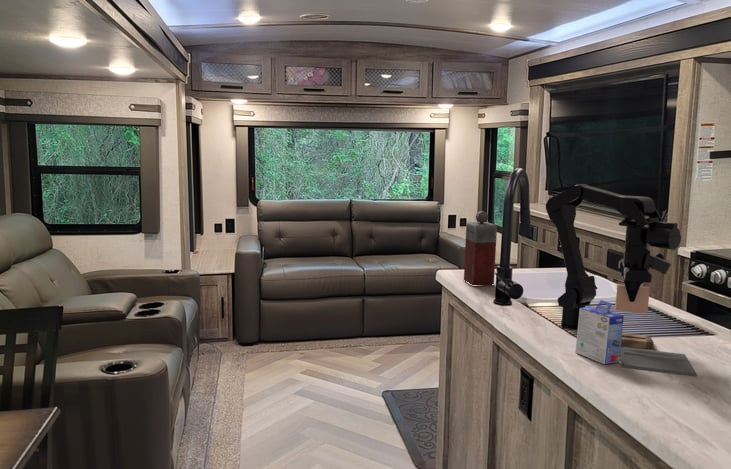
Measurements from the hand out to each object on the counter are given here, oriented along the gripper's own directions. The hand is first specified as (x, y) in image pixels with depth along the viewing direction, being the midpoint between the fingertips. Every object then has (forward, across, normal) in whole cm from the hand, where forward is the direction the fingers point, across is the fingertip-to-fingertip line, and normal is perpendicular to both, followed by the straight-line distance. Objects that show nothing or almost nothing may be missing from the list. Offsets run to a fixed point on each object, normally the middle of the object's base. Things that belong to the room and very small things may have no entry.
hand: (631, 301), depth 161 cm
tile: (+3, 0, 0) cm, 3 cm away
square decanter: (+12, +57, +48) cm, 76 cm away
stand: (+12, 0, 0) cm, 12 cm away
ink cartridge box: (+12, -15, +9) cm, 21 cm away
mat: (+12, -13, -5) cm, 18 cm away
